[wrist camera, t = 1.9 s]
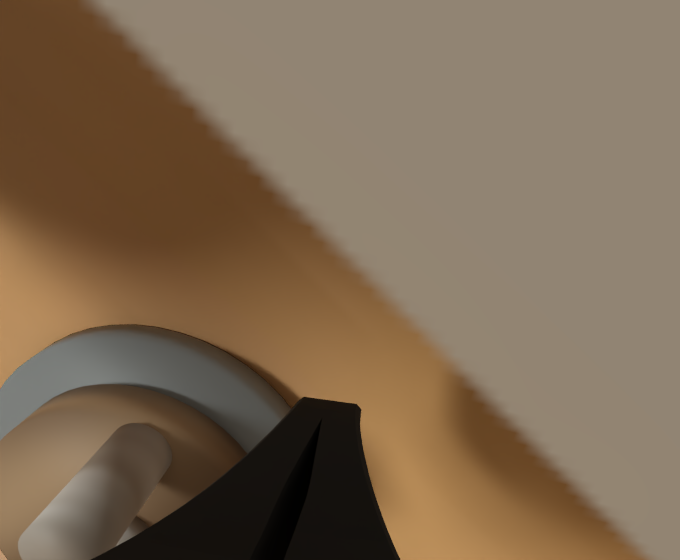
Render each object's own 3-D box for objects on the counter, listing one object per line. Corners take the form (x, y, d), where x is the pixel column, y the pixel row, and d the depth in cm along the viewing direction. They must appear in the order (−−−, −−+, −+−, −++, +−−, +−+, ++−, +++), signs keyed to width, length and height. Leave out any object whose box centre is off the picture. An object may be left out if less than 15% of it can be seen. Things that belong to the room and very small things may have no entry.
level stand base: (-49, 431, 19) (-247, 572, 13) (152, 253, 15) (-9, 348, 9) (167, 628, 21) (75, 821, 15) (393, 520, 17) (380, 727, 11)
